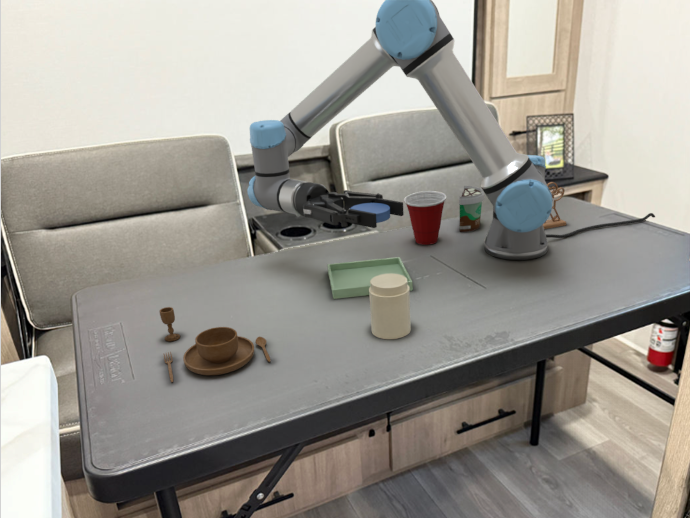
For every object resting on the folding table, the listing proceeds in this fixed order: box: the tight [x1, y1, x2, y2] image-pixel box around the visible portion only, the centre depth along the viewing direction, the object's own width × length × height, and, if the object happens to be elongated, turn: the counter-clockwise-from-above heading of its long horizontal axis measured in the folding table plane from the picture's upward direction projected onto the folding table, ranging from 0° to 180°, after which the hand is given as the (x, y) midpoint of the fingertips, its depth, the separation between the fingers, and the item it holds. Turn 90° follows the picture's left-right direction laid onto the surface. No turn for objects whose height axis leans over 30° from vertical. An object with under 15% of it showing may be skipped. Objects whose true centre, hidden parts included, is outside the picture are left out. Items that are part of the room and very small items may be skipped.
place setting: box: [159, 306, 271, 383], centre depth 107 cm, size 18×20×6 cm
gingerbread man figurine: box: [543, 181, 567, 230], centre depth 162 cm, size 9×4×12 cm, turn 111°
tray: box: [326, 256, 414, 300], centre depth 134 cm, size 17×15×2 cm
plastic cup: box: [403, 190, 447, 246], centre depth 154 cm, size 11×11×12 cm
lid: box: [350, 203, 391, 224], centre depth 121 cm, size 8×8×2 cm
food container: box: [458, 185, 486, 233], centre depth 164 cm, size 12×6×10 cm, turn 168°
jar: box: [368, 274, 412, 340], centre depth 111 cm, size 7×7×10 cm
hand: (388, 214), depth 118 cm, fingers closed on lid, 8 cm apart
